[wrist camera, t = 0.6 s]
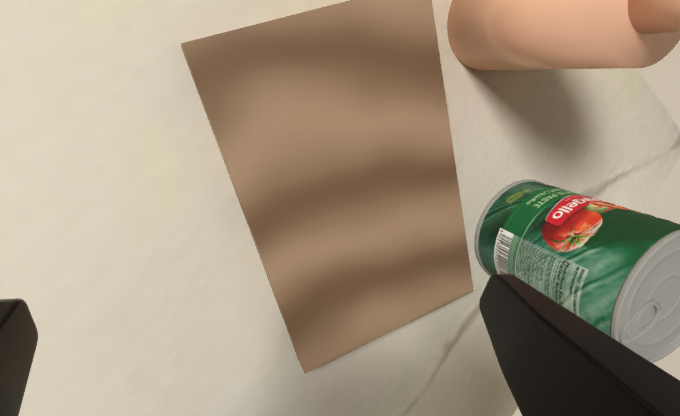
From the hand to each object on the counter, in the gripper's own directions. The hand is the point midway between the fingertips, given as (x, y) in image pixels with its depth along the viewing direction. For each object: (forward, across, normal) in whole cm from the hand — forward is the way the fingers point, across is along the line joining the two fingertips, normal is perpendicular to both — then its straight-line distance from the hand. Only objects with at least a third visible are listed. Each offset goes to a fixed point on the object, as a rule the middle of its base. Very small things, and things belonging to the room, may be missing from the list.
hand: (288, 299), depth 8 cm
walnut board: (+15, -6, +7) cm, 17 cm away
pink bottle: (+19, -14, -3) cm, 24 cm away
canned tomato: (+16, -20, +11) cm, 27 cm away
